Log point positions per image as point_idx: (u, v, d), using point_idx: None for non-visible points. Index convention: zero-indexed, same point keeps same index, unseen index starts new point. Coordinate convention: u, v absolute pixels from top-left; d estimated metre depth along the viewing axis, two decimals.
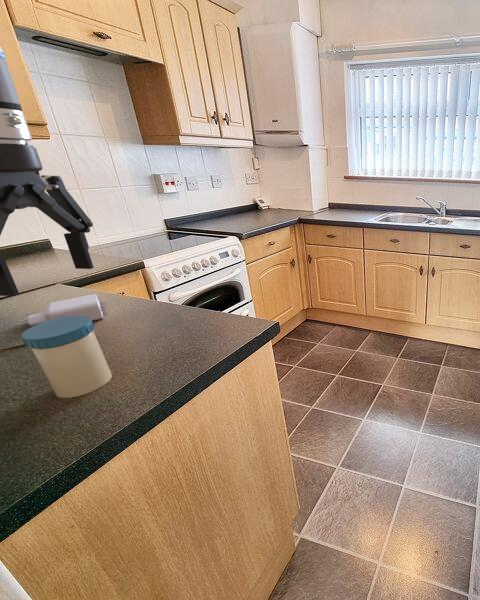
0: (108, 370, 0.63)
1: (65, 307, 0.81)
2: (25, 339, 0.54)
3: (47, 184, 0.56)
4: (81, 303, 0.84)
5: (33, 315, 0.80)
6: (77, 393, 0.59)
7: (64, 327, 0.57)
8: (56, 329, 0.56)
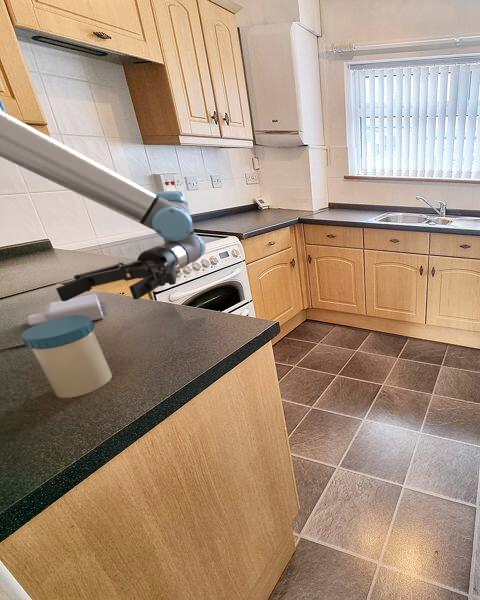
0: (108, 370, 0.63)
1: (65, 307, 0.81)
2: (25, 339, 0.54)
3: None
4: (81, 303, 0.84)
5: (33, 315, 0.80)
6: (77, 393, 0.59)
7: (64, 327, 0.57)
8: (56, 329, 0.56)
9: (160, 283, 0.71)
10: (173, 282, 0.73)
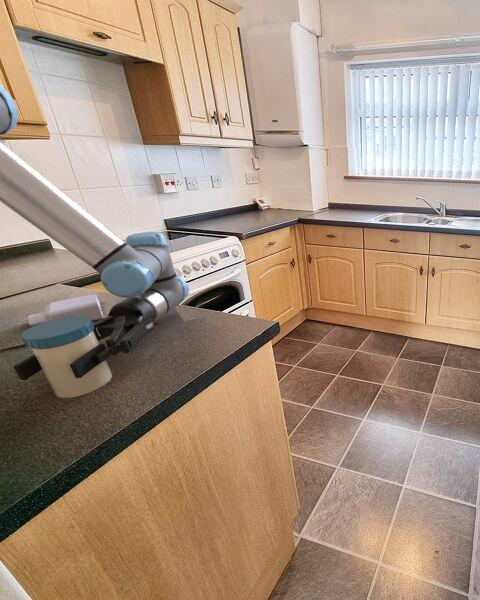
0: (108, 370, 0.63)
1: (65, 307, 0.81)
2: (25, 339, 0.54)
3: (95, 328, 0.70)
4: (81, 303, 0.84)
5: (33, 315, 0.80)
6: (77, 393, 0.59)
7: (64, 327, 0.57)
8: (56, 329, 0.56)
9: (111, 353, 0.61)
10: (127, 350, 0.63)
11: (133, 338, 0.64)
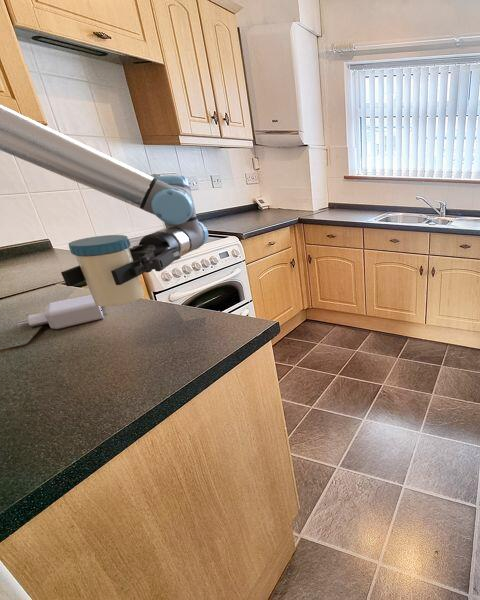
0: (141, 287, 0.69)
1: (65, 307, 0.81)
2: (72, 246, 0.60)
3: None
4: (81, 303, 0.84)
5: (33, 315, 0.80)
6: (115, 302, 0.65)
7: (105, 240, 0.63)
8: (98, 241, 0.62)
9: (145, 269, 0.67)
10: (159, 269, 0.69)
11: (163, 260, 0.70)
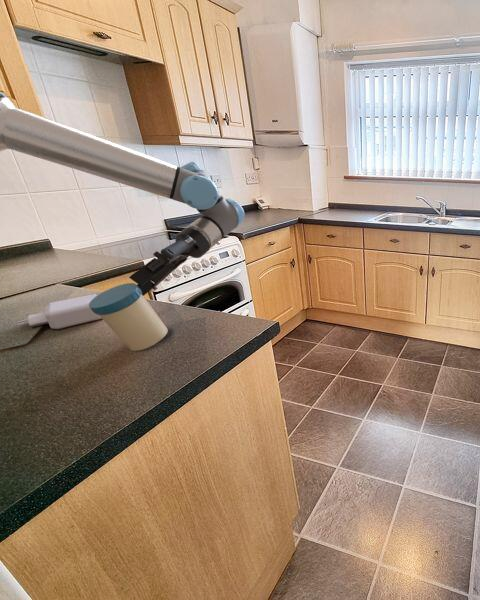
0: (163, 325, 0.75)
1: (66, 307, 0.81)
2: (92, 308, 0.65)
3: None
4: (81, 303, 0.84)
5: (33, 315, 0.80)
6: (145, 345, 0.72)
7: (118, 294, 0.68)
8: (113, 297, 0.67)
9: (161, 262, 0.73)
10: (170, 256, 0.73)
11: (172, 248, 0.75)
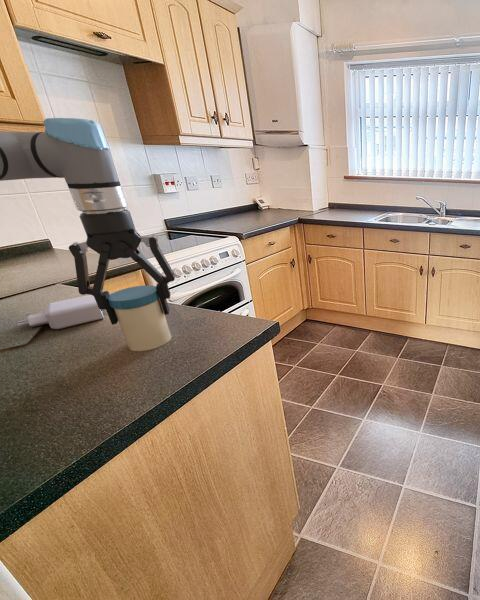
0: (169, 331, 0.76)
1: (66, 307, 0.81)
2: (111, 301, 0.67)
3: (144, 241, 0.68)
4: (81, 303, 0.83)
5: (33, 315, 0.80)
6: (148, 347, 0.72)
7: (139, 293, 0.70)
8: (133, 294, 0.70)
9: None
10: None
11: None
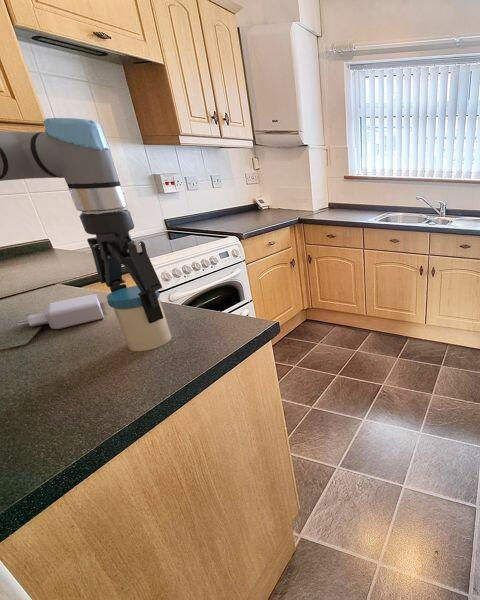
0: (169, 331, 0.76)
1: (66, 307, 0.81)
2: (156, 290, 0.72)
3: None
4: (81, 303, 0.83)
5: (33, 315, 0.80)
6: (148, 347, 0.72)
7: (134, 289, 0.72)
8: (138, 289, 0.72)
9: (154, 295, 0.69)
10: (159, 288, 0.68)
11: (149, 278, 0.66)
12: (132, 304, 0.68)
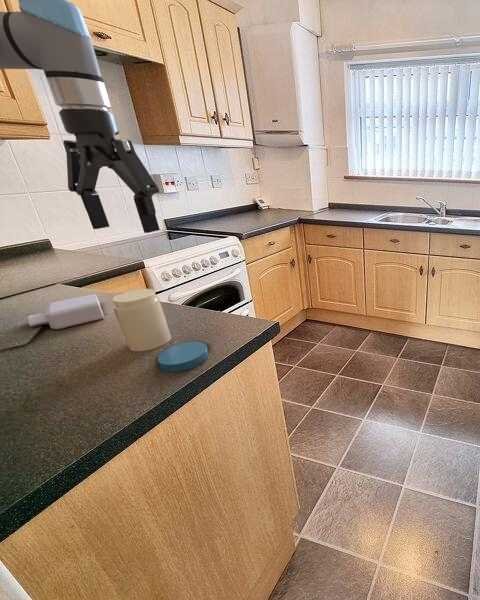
0: (169, 331, 0.76)
1: (66, 307, 0.81)
2: (206, 348, 0.70)
3: None
4: (81, 303, 0.83)
5: (33, 315, 0.80)
6: (147, 348, 0.72)
7: (183, 348, 0.69)
8: (187, 348, 0.69)
9: (150, 200, 0.64)
10: (157, 191, 0.63)
11: (143, 178, 0.61)
12: (187, 367, 0.66)
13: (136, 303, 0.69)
